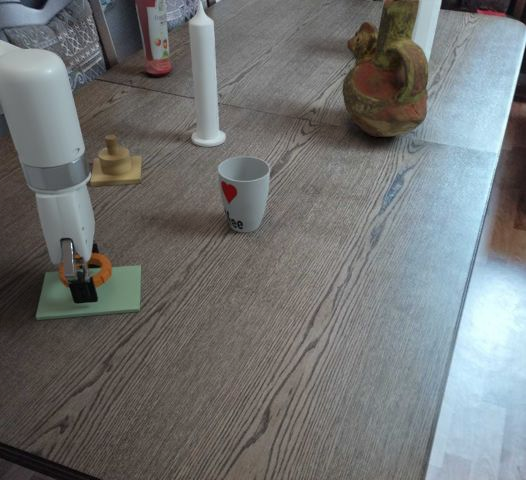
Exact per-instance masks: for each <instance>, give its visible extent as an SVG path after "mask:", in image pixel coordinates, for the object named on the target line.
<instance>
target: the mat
mask: <svg viewBox="0 0 526 480" xmlns="http://www.w3.org/2000/svg"><path fill="white" fill-rule="evenodd" d="M101 269H102V268H101V267H100V268H91V269H89V275H90V277H91V276H93V275H96V274H97V273H98V272H99V271H100V270H101ZM77 270H78V271H81V272H83V269H77ZM58 272H59V270H57V271H56V270H55V271H46V272H45V273H44V278H43V282H42V283H43V284H42V287H41V292H40V296H39V301H38V305H37V310H36V314H35V319H36V321H43V320H44V321H45V320H56V319H57V320H58V319H69V318H81V317H91V316H92V317H93V316H104V315H116V314H128V313H129V314H130V313H140V312H141V294H142V293H141V292H142V290H141V289H142V265H141V264H138V265H137V264H135V265H124V266H123V265H122V266H112V276H111V277H110V278H109V279H108V281H107V282H106V283H103V285H101V286H99V287H96V292H97V296H98V301H97V302H92V303H79V304H76V303H74V301H73V297H72V294H71V291H70V288H67V286H65V285H64V284H63V283H62V282H61V280H60V277H59V273H58Z"/></svg>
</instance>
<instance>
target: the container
mask: <svg viewBox="0 0 526 480" xmlns="http://www.w3.org/2000/svg"><path fill="white" fill-rule="evenodd" d="M384 1H385V0H382V5H381V6H382V7H381V12H380V13H381V14H380V16H381V15H382V10H383V4H384ZM442 1H443V0H419V7H418V13H417V18H416V22H415V25H414V29H413V33H412V41H413V42H414V43H416V44H417V45H419V46H420V47H421V48H422V50H423V52H424V53H425V56H426V58H427V61H428V64H429V63H430V58H431V54H432V48H433V44H434V38H435V34H436V30H437V24H438V20H439V15H440V10H441V7H442ZM380 20H381V18H380V19H379V21H380Z"/></svg>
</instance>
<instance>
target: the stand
mask: <svg viewBox="0 0 526 480" xmlns="http://www.w3.org/2000/svg"><path fill="white" fill-rule="evenodd" d="M117 138H118V137H117V135H115V134H108V135H105V137H104V141H105V145H106V147H104V148H101V149H100V150H99V151H98V153H97V155H98V157H95V158H93V164H92V167H91V168H92V169H91V178H90V180H89V183H90V187H106V186H108V187H109V186H122V185H139V184H142V178H143V177H142V175H143V174H142V173H143V157H142V155H131V154H130V150H129V149H128V148H127V147H125V146H122V145H119V144H118V139H117Z"/></svg>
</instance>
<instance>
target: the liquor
mask: <svg viewBox="0 0 526 480" xmlns="http://www.w3.org/2000/svg"><path fill="white" fill-rule="evenodd" d="M134 4H135V9H136V14H137V20H138V24H139V25H138V26H139V30H140V36H141V43H142V48H143V54H144V61H145V67H144V71H145V72H146V73H147V74H149V75H150V76H151V77H154V78H164V77H167V76H168V75H169V74H170V73H171V71H172V70H173V66H172V64H171V58H170V57H171V55H170V45H169V32H168V30H169V29H168V12H167V9H168V8H167V0H134Z"/></svg>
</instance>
